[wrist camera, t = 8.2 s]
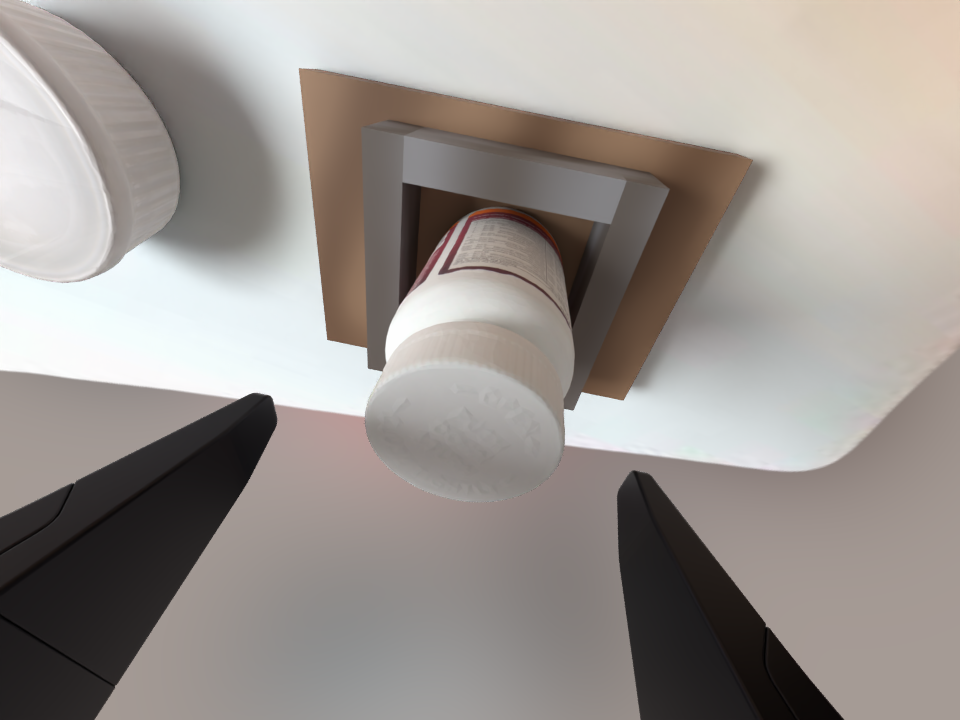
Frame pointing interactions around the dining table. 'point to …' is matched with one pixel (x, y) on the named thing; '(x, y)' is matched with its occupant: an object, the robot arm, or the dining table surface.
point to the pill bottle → (478, 364)
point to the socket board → (512, 184)
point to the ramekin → (75, 152)
